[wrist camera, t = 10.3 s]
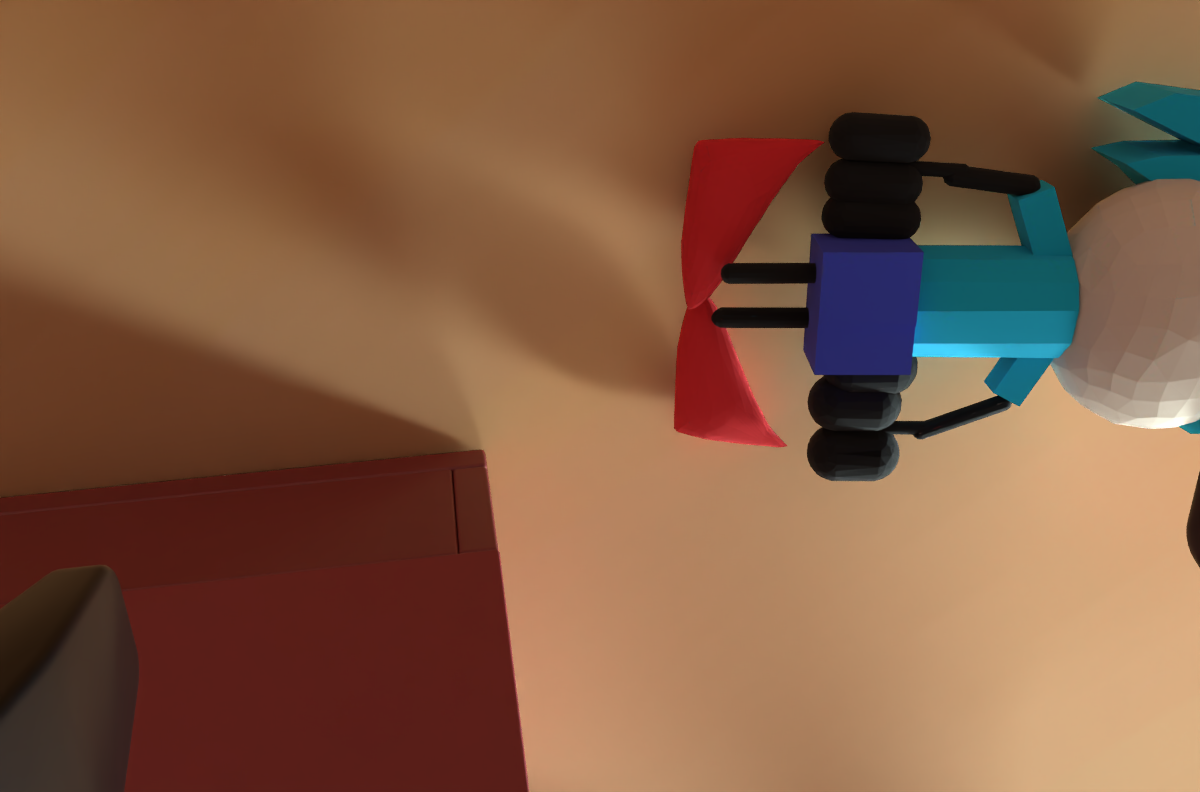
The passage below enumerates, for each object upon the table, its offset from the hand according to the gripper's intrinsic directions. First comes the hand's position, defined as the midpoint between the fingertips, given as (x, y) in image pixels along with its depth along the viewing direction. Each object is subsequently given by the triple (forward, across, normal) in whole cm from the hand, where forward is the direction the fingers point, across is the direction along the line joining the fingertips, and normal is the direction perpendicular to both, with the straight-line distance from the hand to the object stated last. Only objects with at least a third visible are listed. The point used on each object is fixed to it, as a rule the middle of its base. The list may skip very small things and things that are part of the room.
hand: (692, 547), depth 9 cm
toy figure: (+13, -10, +3) cm, 17 cm away
